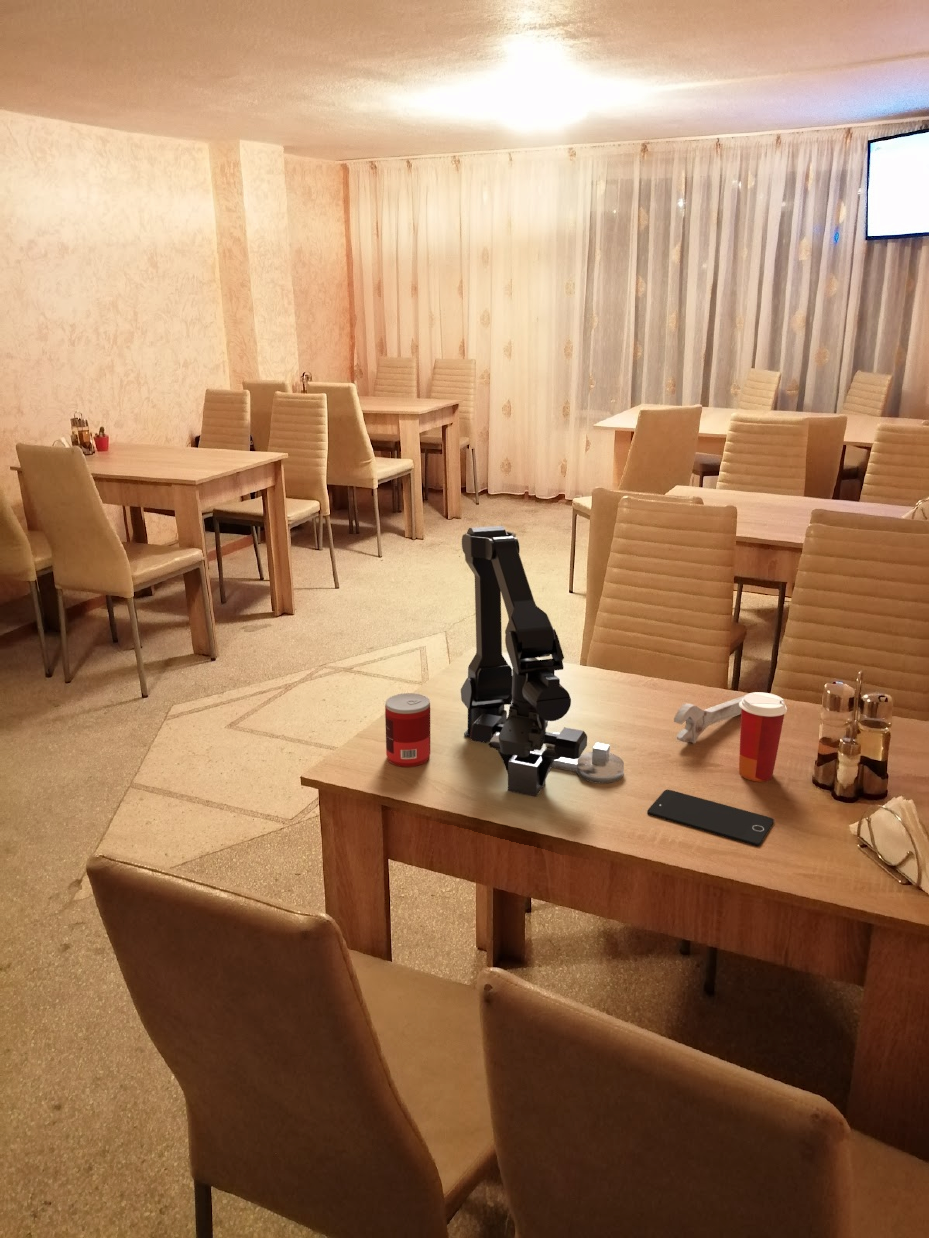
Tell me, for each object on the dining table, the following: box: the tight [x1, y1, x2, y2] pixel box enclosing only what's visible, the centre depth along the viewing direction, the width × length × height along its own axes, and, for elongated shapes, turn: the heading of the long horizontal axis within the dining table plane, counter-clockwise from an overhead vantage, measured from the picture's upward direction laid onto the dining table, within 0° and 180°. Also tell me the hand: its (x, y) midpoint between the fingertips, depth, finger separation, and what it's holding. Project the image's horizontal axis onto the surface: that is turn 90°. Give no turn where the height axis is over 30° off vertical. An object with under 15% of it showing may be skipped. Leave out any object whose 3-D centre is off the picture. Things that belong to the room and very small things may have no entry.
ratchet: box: [532, 742, 625, 784], centre depth 166 cm, size 21×8×5 cm, turn 68°
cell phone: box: [646, 789, 775, 848], centre depth 150 cm, size 9×18×1 cm, turn 58°
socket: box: [507, 751, 546, 798], centre depth 158 cm, size 5×5×6 cm
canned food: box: [384, 692, 431, 768], centre depth 167 cm, size 8×8×11 cm
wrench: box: [673, 695, 745, 744], centre depth 181 cm, size 8×2×30 cm
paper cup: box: [738, 691, 788, 782], centre depth 162 cm, size 8×8×14 cm
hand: (526, 781), depth 159 cm, fingers closed on socket, 5 cm apart
